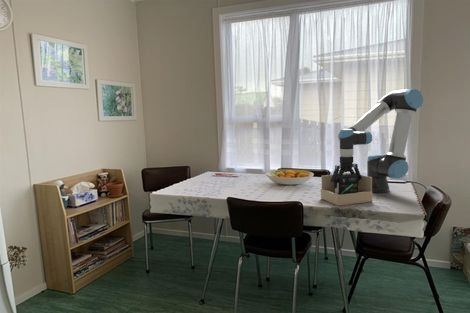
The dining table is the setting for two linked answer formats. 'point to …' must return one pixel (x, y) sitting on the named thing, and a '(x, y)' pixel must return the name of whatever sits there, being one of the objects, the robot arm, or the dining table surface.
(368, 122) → the robot arm
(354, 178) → the tampon box
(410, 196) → the dining table surface
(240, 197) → the dining table surface
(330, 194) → the carton
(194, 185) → the dining table surface
